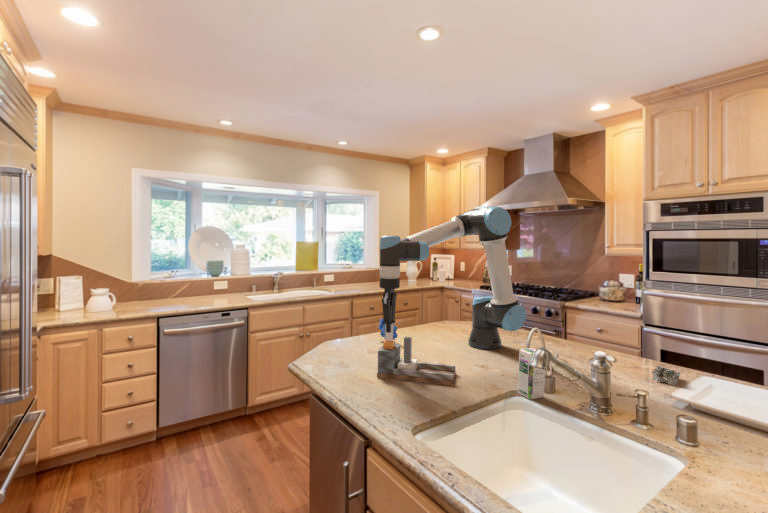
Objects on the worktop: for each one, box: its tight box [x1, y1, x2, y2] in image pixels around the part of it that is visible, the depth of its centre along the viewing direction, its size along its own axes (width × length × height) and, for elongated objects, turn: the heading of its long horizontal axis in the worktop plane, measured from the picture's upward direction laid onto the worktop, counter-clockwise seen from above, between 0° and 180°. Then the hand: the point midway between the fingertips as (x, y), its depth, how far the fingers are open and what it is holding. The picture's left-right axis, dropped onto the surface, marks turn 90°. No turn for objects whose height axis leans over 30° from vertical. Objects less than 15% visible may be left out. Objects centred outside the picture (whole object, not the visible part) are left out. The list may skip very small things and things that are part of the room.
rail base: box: [376, 343, 457, 386], centre depth 138 cm, size 27×12×10 cm, turn 74°
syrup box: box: [517, 347, 545, 400], centre depth 121 cm, size 6×6×14 cm
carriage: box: [398, 336, 418, 370], centre depth 139 cm, size 6×7×12 cm
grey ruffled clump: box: [651, 365, 681, 386], centre depth 135 cm, size 10×7×4 cm
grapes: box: [378, 318, 398, 341], centre depth 183 cm, size 12×7×12 cm, turn 49°
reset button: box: [382, 339, 396, 349], centre depth 141 cm, size 4×4×3 cm
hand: (389, 340), depth 141 cm, fingers closed
